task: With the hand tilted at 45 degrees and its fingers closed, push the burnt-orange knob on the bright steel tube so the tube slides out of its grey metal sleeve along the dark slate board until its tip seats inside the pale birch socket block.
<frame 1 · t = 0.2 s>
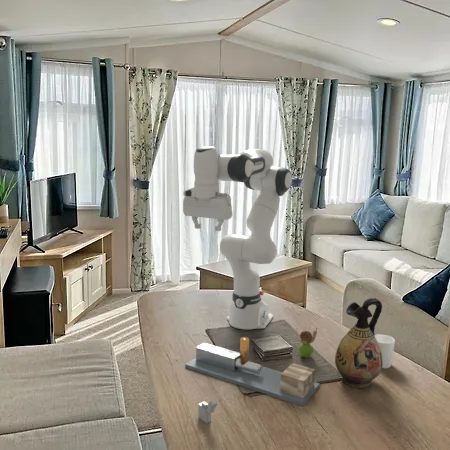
hand: (207, 229, 181), 47 cm above the table, tool pointing down, fingers open, 8 cm apart
grey sleeve: (218, 366, 177), resting on slate board
snail figurine: (306, 357, 186), on the table
ceramic jug: (359, 381, 169), on the table
white cup: (381, 364, 181), on the table
lighter: (207, 422, 144), on the table
extension tube: (230, 349, 173), point 8 cm above the table, slide at 0.0 cm
birch socket: (297, 391, 161), resting on slate board
slate board: (250, 376, 170), on the table
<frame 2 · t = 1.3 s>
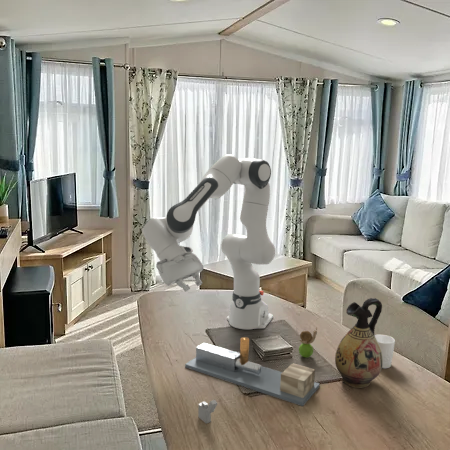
hand: (194, 287, 177), 28 cm above the table, tool tilted 45°, fingers open, 6 cm apart
nothing on the table moved.
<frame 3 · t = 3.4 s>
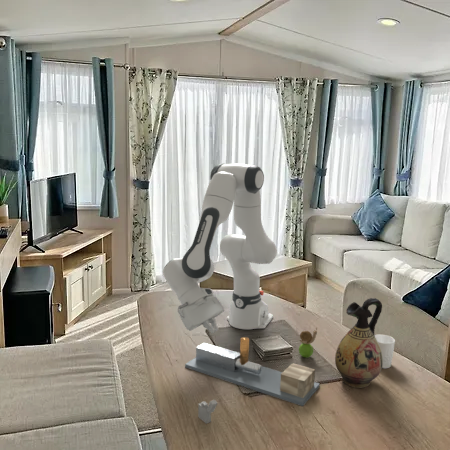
hand: (215, 331, 175), 13 cm above the table, tool tilted 45°, fingers closed
nothing on the table moved.
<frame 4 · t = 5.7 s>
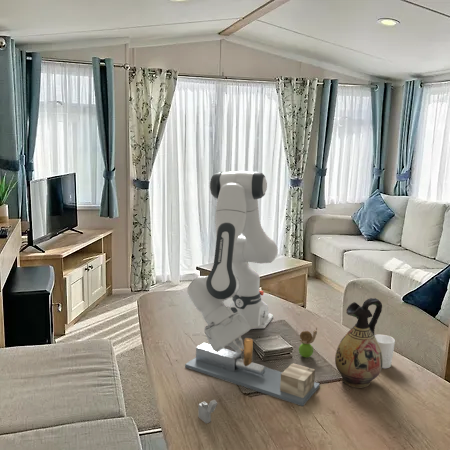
hand: (242, 351, 170), 8 cm above the table, tool tilted 45°, fingers closed, pressing on extension tube
extension tube: (233, 350, 172), point 8 cm above the table, slide at 1.4 cm, touching gripper
everything else where it was.
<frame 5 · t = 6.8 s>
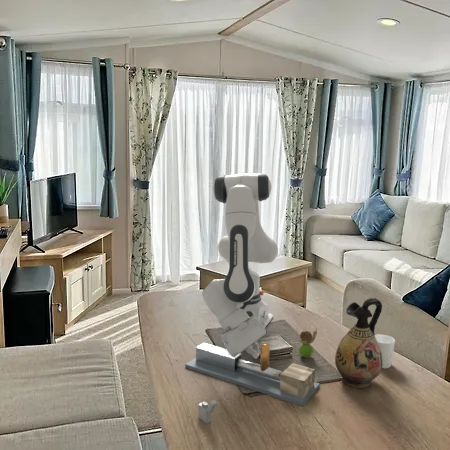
hand: (258, 356, 167), 8 cm above the table, tool tilted 45°, fingers closed, pressing on extension tube
extension tube: (249, 355, 169), point 8 cm above the table, slide at 7.9 cm, touching gripper
everything else where it was.
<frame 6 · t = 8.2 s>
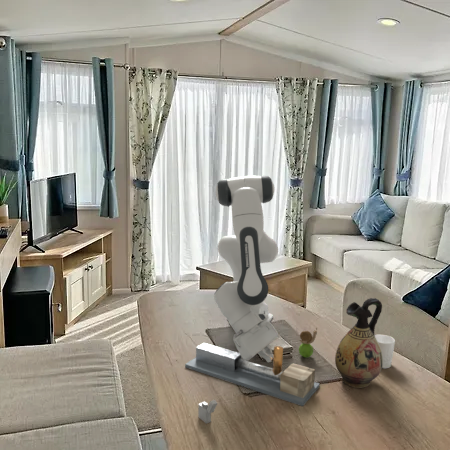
hand: (271, 360, 164), 8 cm above the table, tool tilted 45°, fingers closed, pressing on extension tube
extension tube: (262, 359, 167), point 8 cm above the table, slide at 12.7 cm, touching gripper
everything else where it was.
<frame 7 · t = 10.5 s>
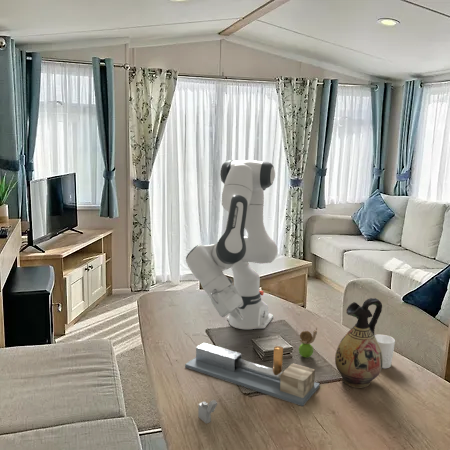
hand: (241, 320, 170), 19 cm above the table, tool tilted 40°, fingers closed
extension tube: (262, 359, 166), point 8 cm above the table, slide at 12.7 cm
everything else where it was.
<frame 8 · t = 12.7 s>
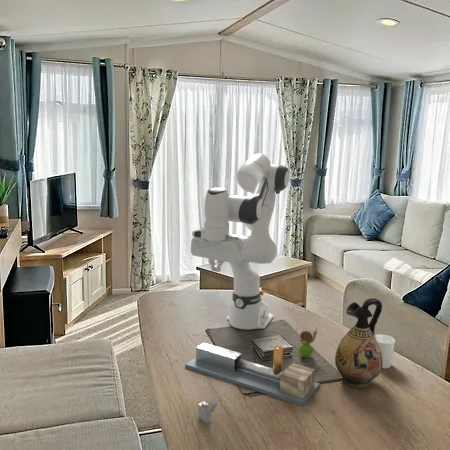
hand: (215, 271, 178), 33 cm above the table, tool pointing down, fingers closed
nothing on the table moved.
at the end: extension tube slide at 12.7 cm; the gripper is holding nothing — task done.
